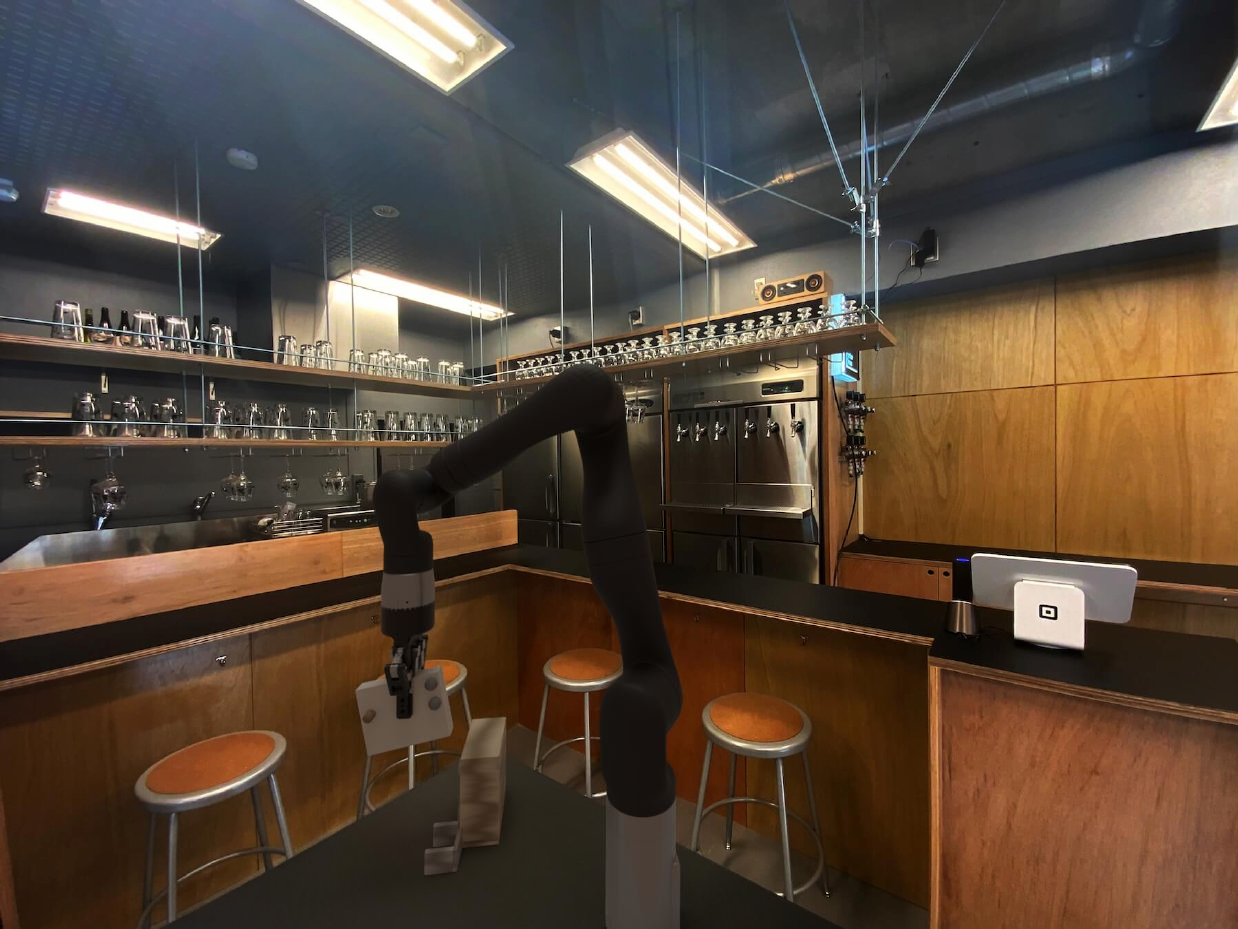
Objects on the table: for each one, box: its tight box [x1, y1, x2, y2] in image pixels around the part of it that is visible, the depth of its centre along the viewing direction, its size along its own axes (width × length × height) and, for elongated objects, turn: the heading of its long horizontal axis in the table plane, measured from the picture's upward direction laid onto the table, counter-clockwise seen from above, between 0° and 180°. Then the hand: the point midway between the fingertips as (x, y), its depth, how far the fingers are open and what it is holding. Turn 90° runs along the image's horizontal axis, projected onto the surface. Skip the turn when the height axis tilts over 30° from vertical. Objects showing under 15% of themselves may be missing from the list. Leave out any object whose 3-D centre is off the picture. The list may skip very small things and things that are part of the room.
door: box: [354, 664, 454, 757], centre depth 71 cm, size 12×4×10 cm, turn 97°
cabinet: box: [423, 716, 507, 876], centre depth 78 cm, size 10×16×14 cm, turn 8°
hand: (407, 712), depth 72 cm, fingers closed on door, 2 cm apart
